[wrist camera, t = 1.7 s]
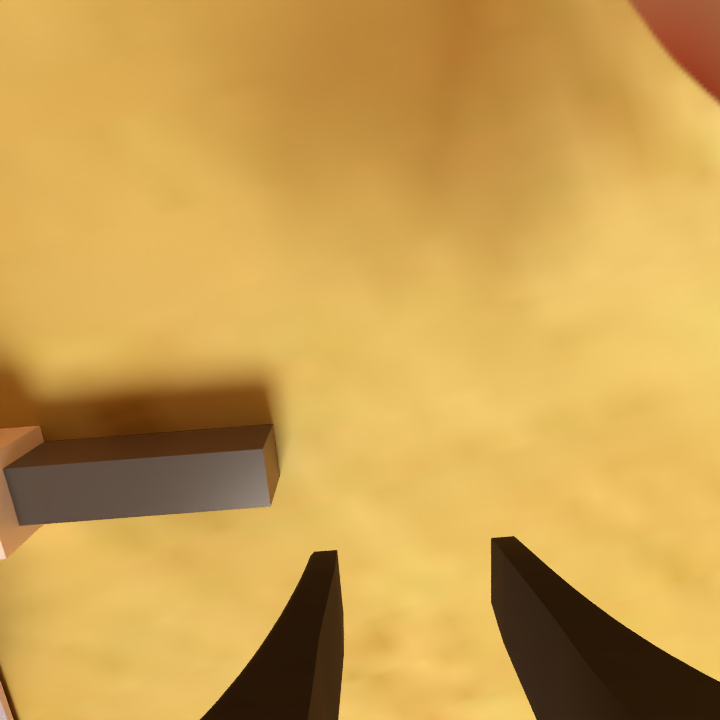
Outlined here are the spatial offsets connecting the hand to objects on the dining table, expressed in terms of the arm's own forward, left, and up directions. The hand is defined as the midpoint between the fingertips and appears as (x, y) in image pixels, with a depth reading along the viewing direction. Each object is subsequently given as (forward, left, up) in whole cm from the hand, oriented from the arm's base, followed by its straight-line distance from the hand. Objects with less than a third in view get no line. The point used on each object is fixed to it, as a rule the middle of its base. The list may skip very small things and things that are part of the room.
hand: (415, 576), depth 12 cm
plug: (0, +12, -8) cm, 15 cm away
